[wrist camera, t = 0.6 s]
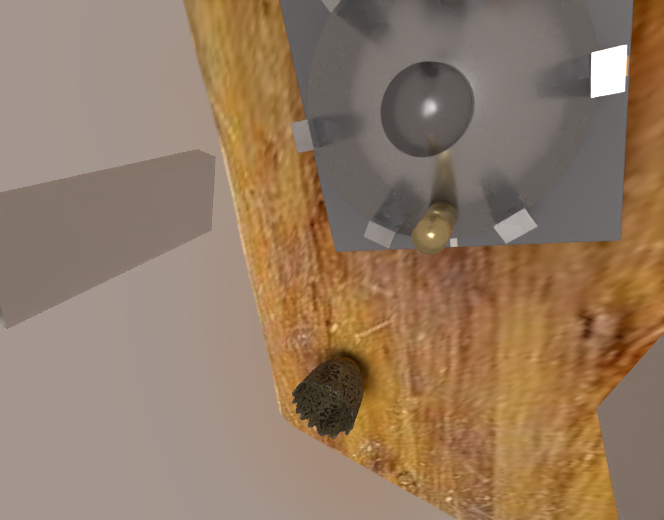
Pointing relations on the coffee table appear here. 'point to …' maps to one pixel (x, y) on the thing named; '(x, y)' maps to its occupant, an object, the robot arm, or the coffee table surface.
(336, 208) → the plate
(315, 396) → the cup
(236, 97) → the coffee table surface
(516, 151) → the grey metal round disc
